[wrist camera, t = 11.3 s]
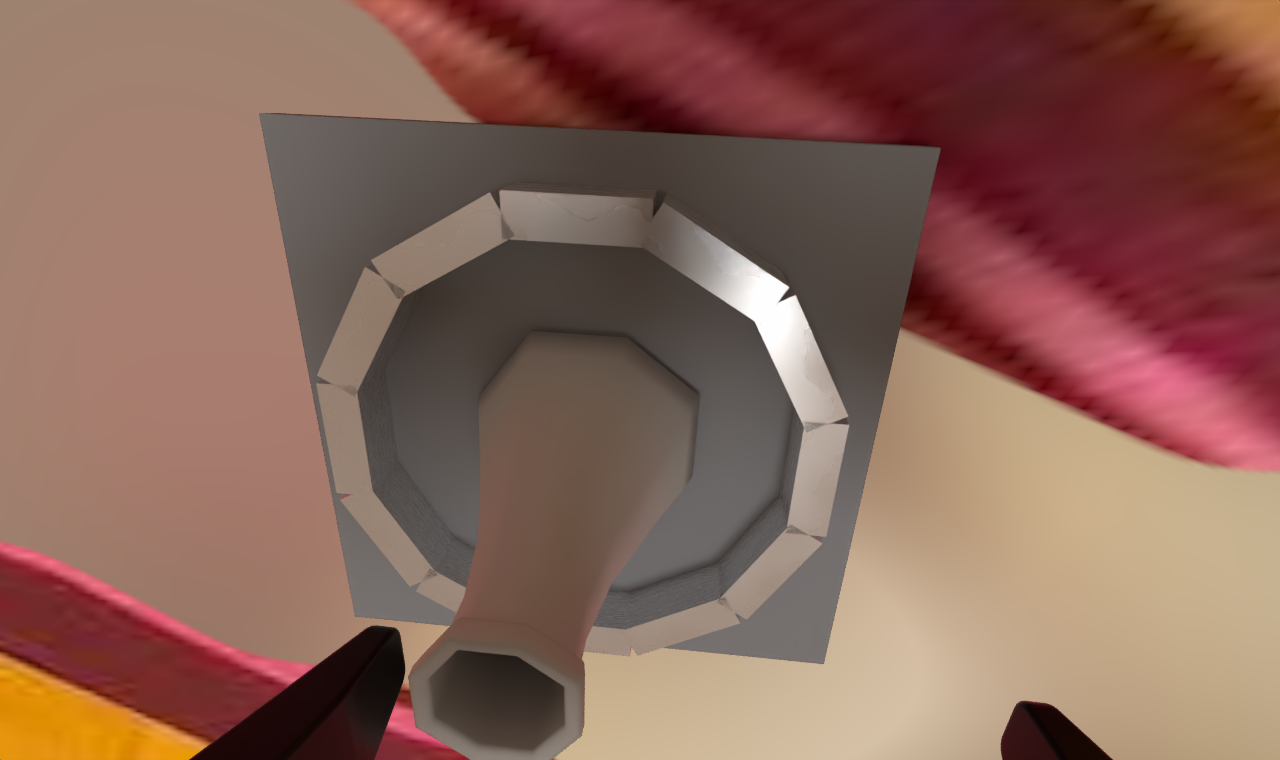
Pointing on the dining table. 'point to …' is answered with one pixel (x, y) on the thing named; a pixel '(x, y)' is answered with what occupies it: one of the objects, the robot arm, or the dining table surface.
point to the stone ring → (594, 218)
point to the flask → (552, 537)
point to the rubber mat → (612, 320)
